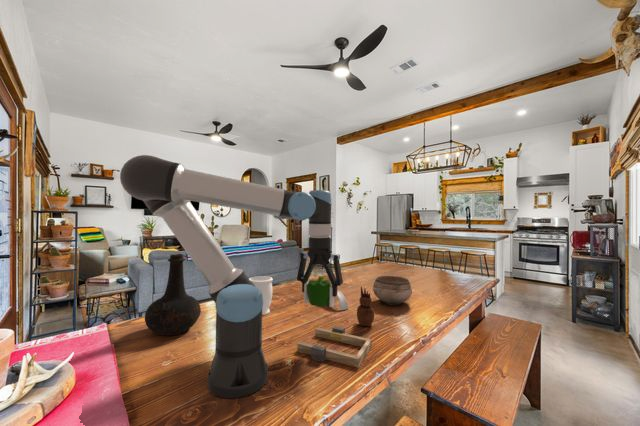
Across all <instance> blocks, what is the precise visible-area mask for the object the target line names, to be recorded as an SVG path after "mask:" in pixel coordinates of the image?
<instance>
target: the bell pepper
mask: <svg viewBox="0 0 640 426" xmlns="http://www.w3.org/2000/svg"><path fill="white" fill-rule="evenodd" d="M308 280H309V279H308ZM308 282H309V283H308V285H307V295H308V299H309V302H308V303H309V304H310V305H311V306H314V307H315V306H316V307H321V308H322V307H326V306H328V304H330V301H329V300H330V287H331V286H332V285H331V282H330V280H329V279H328V280H327V279H326V280H324V276H322V275H319V277H317V279H316V280H315V279H313V280H309V281H308Z"/></svg>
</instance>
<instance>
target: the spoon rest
mask: <svg viewBox="0 0 640 426" xmlns="http://www.w3.org/2000/svg"><path fill="white" fill-rule="evenodd" d="M336 297H337V298H338V301H339V311H346V310H348V309H349V305H348V304H349V303H348V300H347V299H346V297H345V296H344V294H343V293H342V292H341V291H340V290H337V296H336ZM329 302H330V300H329Z"/></svg>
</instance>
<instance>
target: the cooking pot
mask: <svg viewBox="0 0 640 426" xmlns="http://www.w3.org/2000/svg"><path fill="white" fill-rule="evenodd" d="M374 279H375V280H374V281H373V285H372V292H373V295H375V296H376V298H377V299H379V300H381V301H382V302H383V303H384V304H386V305H390V306H398V305H400V304H402V303H405V302H407V301H408V300H409V299H410V298H411V297H412V295H413V288H412V284H411V281H412V280H411V279H410V277H406V276H402V275H396V274H379V275H375V276H374Z"/></svg>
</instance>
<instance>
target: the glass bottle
mask: <svg viewBox="0 0 640 426" xmlns="http://www.w3.org/2000/svg"><path fill="white" fill-rule="evenodd" d="M186 260H187V259H186V258H184V254H183V253H177V254H170V255H169V258H168V259H167V262H169V270H168V277H167V284H166V287H165V288H166V289H165V291H164V294H163V295H162V296H161V297H160V298H157V299H156V300H155V301H152V303H150V305H149V306H148V307H147V309H146V311H145V314H144V323H145V326H146V328H147V329H149V330H150V331H151V332H152V333H154V334H157V335H159V336H160V335H161V336H175V335H180V334H182V333H185V332H187V331H188V330H190V329H191V328H192V327H193V326H194V325H195V324H196V323H197V321H198V320H199V317H200V316H201V312H202V309H201V304H200V302H199V301H198V299H197V298H195V297H193V296H192V295H189V294H187V291H186V288H185V281H184V280H185V277H184V261H186Z"/></svg>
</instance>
